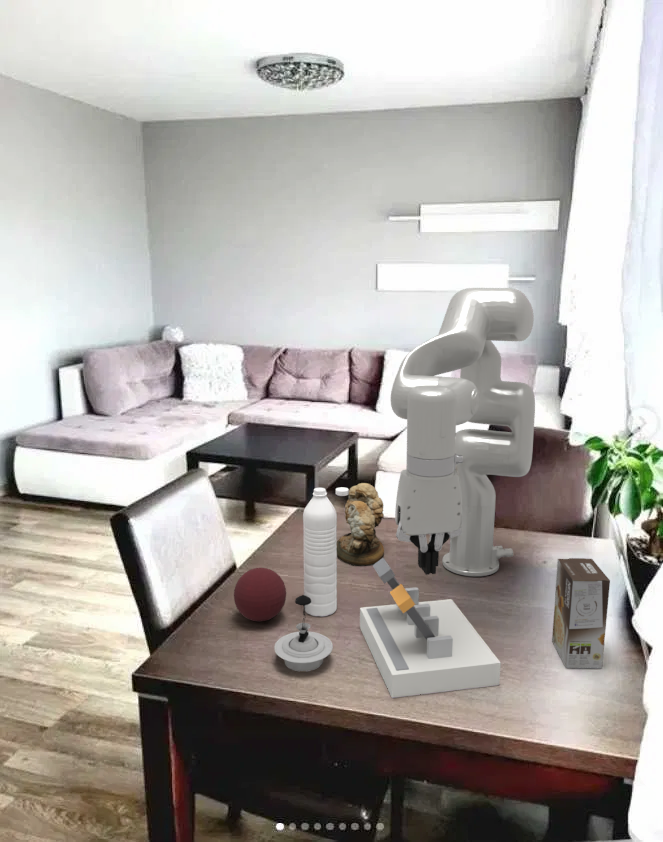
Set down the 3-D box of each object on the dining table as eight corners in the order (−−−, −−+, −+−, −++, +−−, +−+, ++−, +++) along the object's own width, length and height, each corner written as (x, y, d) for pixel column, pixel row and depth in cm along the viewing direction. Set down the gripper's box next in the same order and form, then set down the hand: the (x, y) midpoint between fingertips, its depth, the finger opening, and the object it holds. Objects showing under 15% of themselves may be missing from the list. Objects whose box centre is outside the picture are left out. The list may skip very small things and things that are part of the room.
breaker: (415, 600, 126) (383, 557, 123) (423, 613, 121) (390, 569, 118) (405, 607, 126) (372, 565, 123) (413, 621, 121) (379, 577, 118)
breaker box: (450, 618, 130) (452, 583, 128) (499, 685, 109) (501, 644, 107) (359, 627, 127) (360, 591, 125) (391, 698, 105) (392, 656, 104)
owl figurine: (331, 537, 170) (331, 472, 166) (377, 536, 171) (379, 471, 167) (338, 567, 152) (338, 495, 149) (389, 566, 153) (391, 494, 150)
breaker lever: (435, 630, 115) (401, 583, 112) (445, 645, 111) (410, 597, 107) (423, 638, 115) (389, 592, 112) (433, 654, 110) (398, 606, 107)
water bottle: (302, 616, 130) (300, 493, 125) (305, 600, 137) (304, 483, 131) (347, 618, 130) (347, 494, 125) (348, 602, 136) (349, 484, 131)
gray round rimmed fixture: (323, 612, 107) (339, 585, 117) (264, 604, 110) (285, 578, 119) (323, 681, 110) (339, 649, 119) (265, 672, 112) (286, 641, 122)
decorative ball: (294, 609, 133) (293, 562, 131) (274, 635, 124) (273, 584, 122) (247, 602, 136) (246, 556, 134) (225, 626, 127) (223, 577, 125)
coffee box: (603, 669, 113) (612, 581, 110) (565, 668, 113) (572, 580, 110) (585, 640, 122) (592, 557, 119) (549, 639, 122) (556, 557, 119)
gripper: (466, 454, 111) (462, 556, 115) (378, 460, 108) (377, 565, 113) (484, 468, 104) (479, 576, 108) (391, 474, 101) (390, 586, 106)
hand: (427, 570), depth 111 cm, fingers closed
